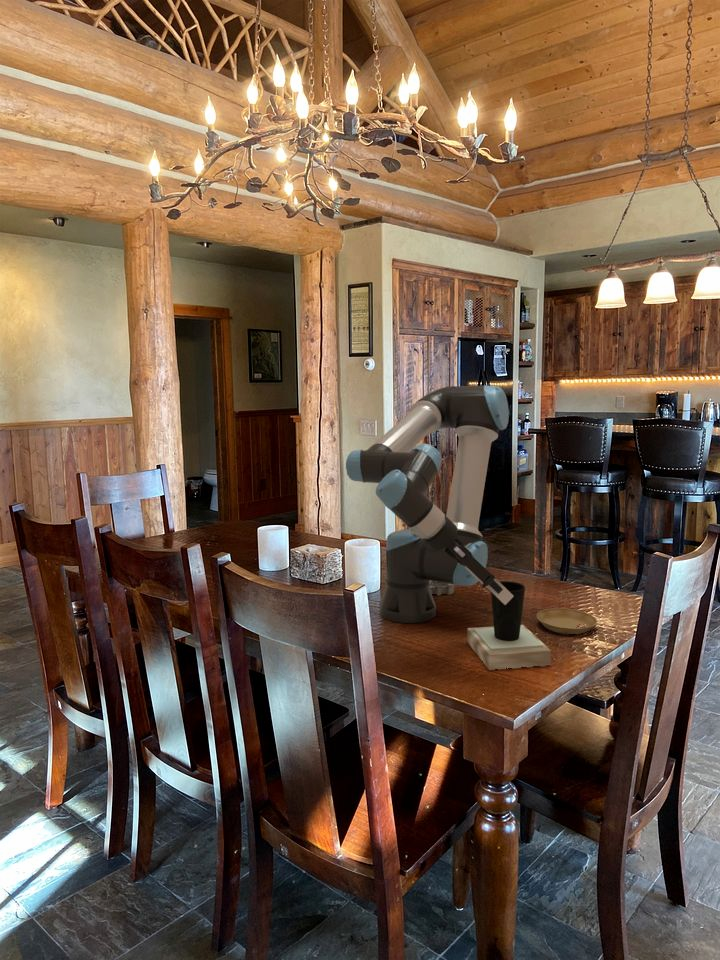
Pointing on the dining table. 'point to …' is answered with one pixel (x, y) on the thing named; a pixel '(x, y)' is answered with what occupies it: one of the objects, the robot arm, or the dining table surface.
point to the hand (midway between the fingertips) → (497, 590)
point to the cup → (508, 612)
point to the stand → (508, 649)
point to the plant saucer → (566, 620)
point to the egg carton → (441, 588)
